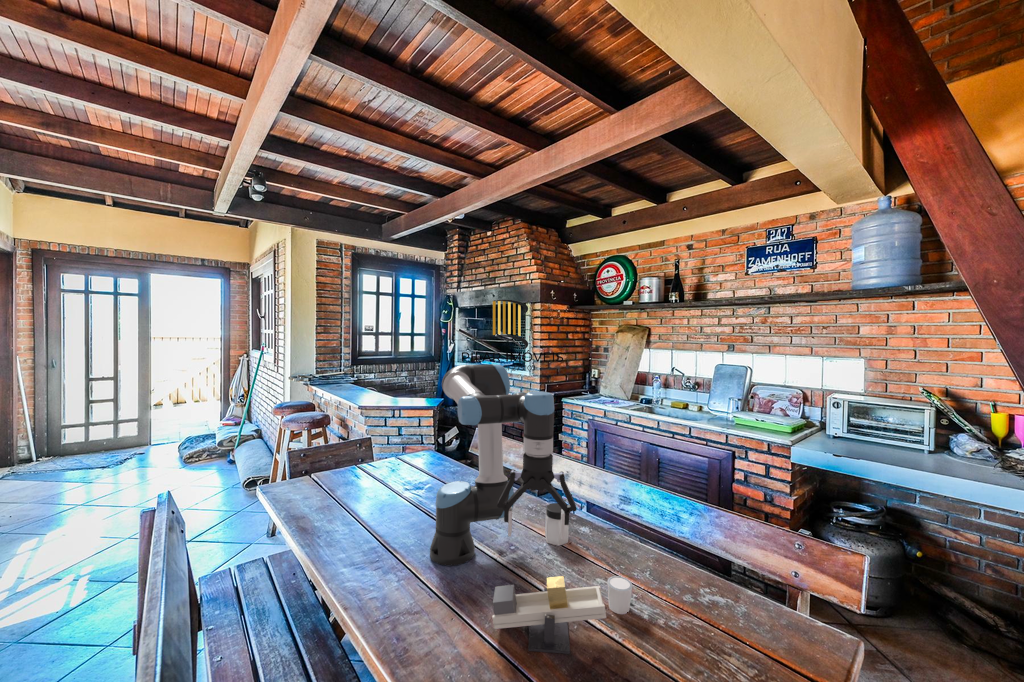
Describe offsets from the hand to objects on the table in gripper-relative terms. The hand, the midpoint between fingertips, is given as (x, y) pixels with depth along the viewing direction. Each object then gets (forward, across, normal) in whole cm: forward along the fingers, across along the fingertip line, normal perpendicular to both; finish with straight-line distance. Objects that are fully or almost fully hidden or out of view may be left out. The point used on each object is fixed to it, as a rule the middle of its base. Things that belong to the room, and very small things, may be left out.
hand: (535, 535), depth 106 cm
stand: (+25, +4, 0) cm, 25 cm away
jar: (+25, +8, +46) cm, 53 cm away
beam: (+19, +4, 0) cm, 20 cm away
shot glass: (+25, +24, +11) cm, 36 cm away
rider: (+18, +6, 0) cm, 19 cm away
